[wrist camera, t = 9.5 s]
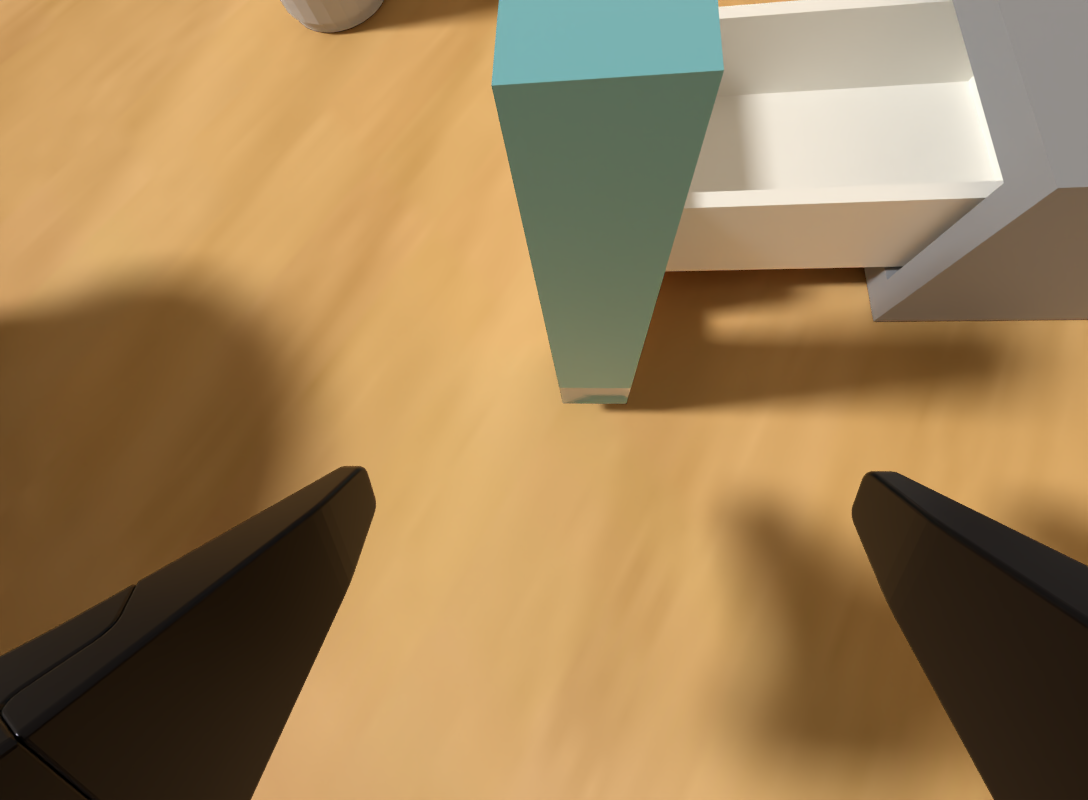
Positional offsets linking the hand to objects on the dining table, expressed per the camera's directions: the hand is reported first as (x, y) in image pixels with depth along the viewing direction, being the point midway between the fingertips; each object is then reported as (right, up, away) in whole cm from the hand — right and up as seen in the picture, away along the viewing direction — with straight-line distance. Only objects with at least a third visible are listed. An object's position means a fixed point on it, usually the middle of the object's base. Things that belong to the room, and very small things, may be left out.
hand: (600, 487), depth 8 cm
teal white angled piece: (+8, +9, +10) cm, 16 cm away
